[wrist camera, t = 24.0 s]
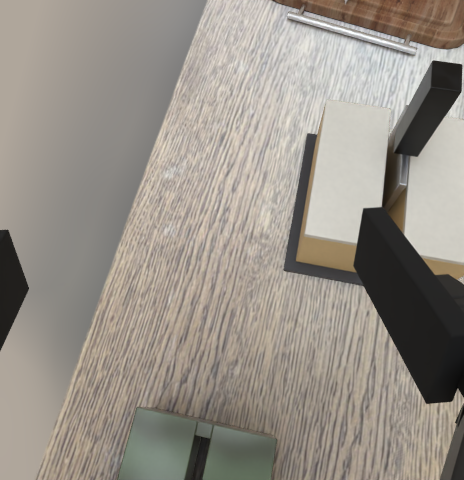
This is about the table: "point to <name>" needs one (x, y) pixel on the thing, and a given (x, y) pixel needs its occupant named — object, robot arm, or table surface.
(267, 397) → the table surface
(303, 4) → the chopping board
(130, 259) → the table surface
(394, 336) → the robot arm
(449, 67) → the black-handled knife
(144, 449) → the knife block
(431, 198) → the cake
